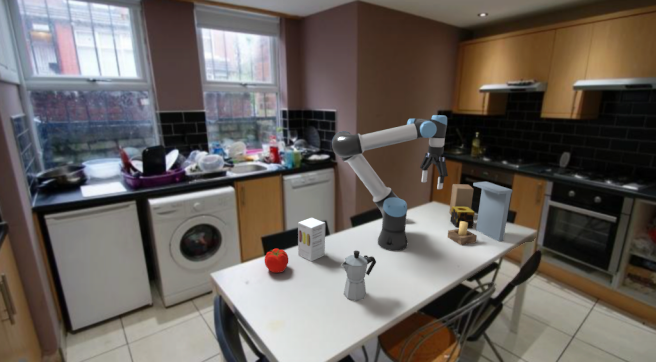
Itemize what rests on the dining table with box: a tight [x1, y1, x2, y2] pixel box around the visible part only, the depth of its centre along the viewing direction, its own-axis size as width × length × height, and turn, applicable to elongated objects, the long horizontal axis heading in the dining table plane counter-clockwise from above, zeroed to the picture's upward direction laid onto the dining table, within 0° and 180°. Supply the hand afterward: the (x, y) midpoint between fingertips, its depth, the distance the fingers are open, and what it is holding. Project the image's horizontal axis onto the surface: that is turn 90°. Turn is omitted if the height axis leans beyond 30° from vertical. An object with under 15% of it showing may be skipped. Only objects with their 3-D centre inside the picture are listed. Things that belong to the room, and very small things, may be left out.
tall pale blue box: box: [473, 181, 513, 243], centre depth 171 cm, size 9×17×28 cm, turn 20°
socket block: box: [447, 228, 478, 246], centre depth 169 cm, size 10×10×4 cm
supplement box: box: [297, 217, 326, 262], centre depth 150 cm, size 10×9×17 cm
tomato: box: [264, 248, 289, 274], centre depth 137 cm, size 11×11×9 cm
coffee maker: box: [340, 250, 377, 302], centre depth 120 cm, size 15×9×18 cm, turn 114°
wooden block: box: [448, 183, 474, 215], centre depth 202 cm, size 10×10×20 cm
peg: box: [458, 221, 468, 236], centre depth 168 cm, size 4×4×10 cm
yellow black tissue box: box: [450, 207, 476, 229], centre depth 189 cm, size 10×10×10 cm
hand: (431, 185), depth 169 cm, fingers open, 13 cm apart
